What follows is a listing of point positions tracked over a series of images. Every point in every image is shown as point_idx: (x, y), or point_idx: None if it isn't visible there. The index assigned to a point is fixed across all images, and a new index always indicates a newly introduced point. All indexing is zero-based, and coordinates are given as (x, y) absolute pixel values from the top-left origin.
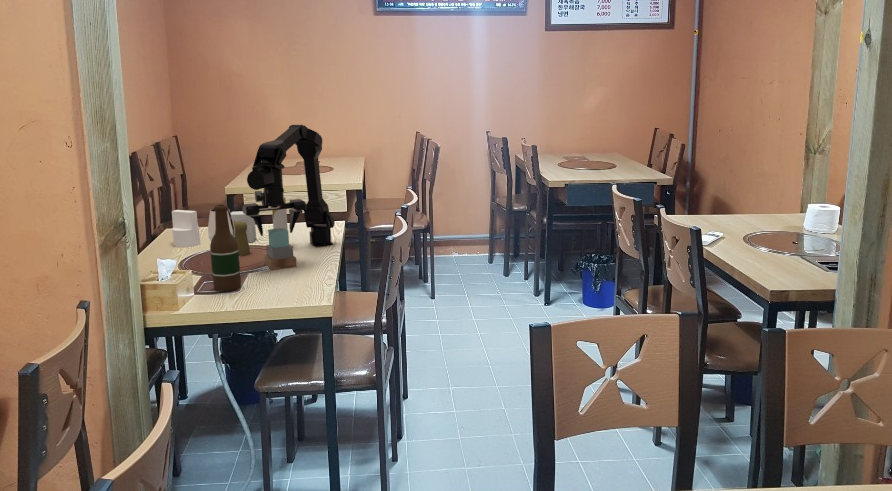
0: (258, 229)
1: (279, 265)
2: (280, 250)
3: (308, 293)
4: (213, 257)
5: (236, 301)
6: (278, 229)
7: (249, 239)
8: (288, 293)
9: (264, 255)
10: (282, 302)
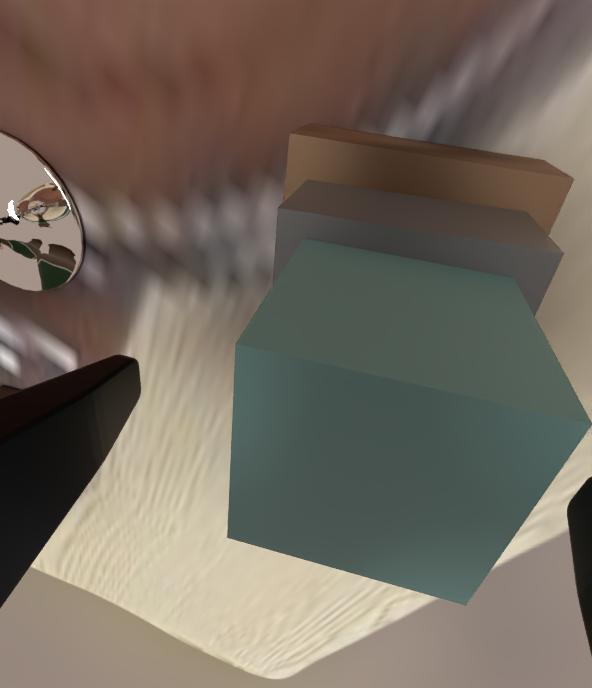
0: (20, 405)
1: None
2: None
3: (278, 624)
4: None
5: (66, 544)
6: (402, 461)
7: None
8: (224, 591)
9: (289, 147)
10: (184, 619)
